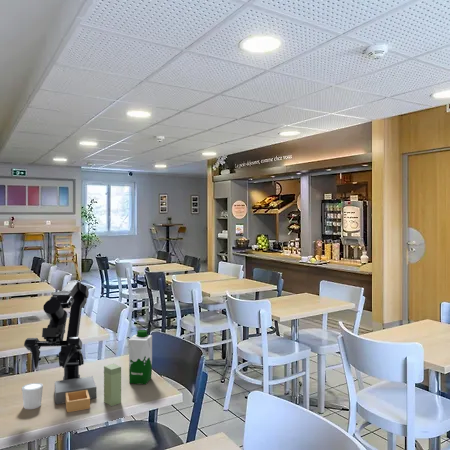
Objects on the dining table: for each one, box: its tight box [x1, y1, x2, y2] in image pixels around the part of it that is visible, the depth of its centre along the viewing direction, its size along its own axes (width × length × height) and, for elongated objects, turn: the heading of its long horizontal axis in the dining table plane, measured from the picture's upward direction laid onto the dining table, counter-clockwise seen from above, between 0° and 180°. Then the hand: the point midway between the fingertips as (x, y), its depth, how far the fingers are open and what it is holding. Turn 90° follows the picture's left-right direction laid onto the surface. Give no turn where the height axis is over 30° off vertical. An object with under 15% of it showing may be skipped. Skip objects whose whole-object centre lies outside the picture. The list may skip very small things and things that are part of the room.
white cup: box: [21, 382, 44, 410], centre depth 151 cm, size 7×7×7 cm
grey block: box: [54, 375, 97, 413], centre depth 157 cm, size 21×14×4 cm
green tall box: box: [103, 363, 122, 407], centre depth 154 cm, size 5×4×13 cm
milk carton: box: [128, 329, 153, 385], centre depth 175 cm, size 9×9×20 cm
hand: (49, 368), depth 147 cm, fingers open, 9 cm apart
